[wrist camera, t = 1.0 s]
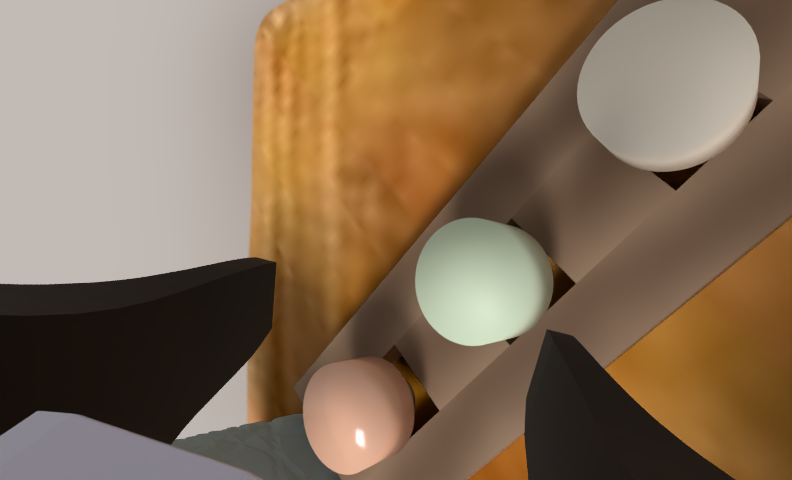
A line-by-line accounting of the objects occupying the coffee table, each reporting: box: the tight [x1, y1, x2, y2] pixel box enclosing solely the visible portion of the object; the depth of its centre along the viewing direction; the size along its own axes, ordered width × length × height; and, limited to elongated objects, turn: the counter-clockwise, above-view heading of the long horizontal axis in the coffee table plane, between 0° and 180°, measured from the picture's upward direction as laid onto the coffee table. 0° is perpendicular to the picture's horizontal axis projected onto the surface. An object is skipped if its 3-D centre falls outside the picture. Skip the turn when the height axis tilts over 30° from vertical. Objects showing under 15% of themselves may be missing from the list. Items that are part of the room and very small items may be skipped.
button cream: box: [577, 0, 760, 172], centre depth 16 cm, size 5×5×4 cm
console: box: [293, 0, 792, 480], centre depth 21 cm, size 10×30×2 cm, turn 133°
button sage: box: [415, 218, 554, 346], centre depth 19 cm, size 5×5×4 cm
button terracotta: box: [303, 356, 415, 475], centre depth 22 cm, size 5×5×4 cm
